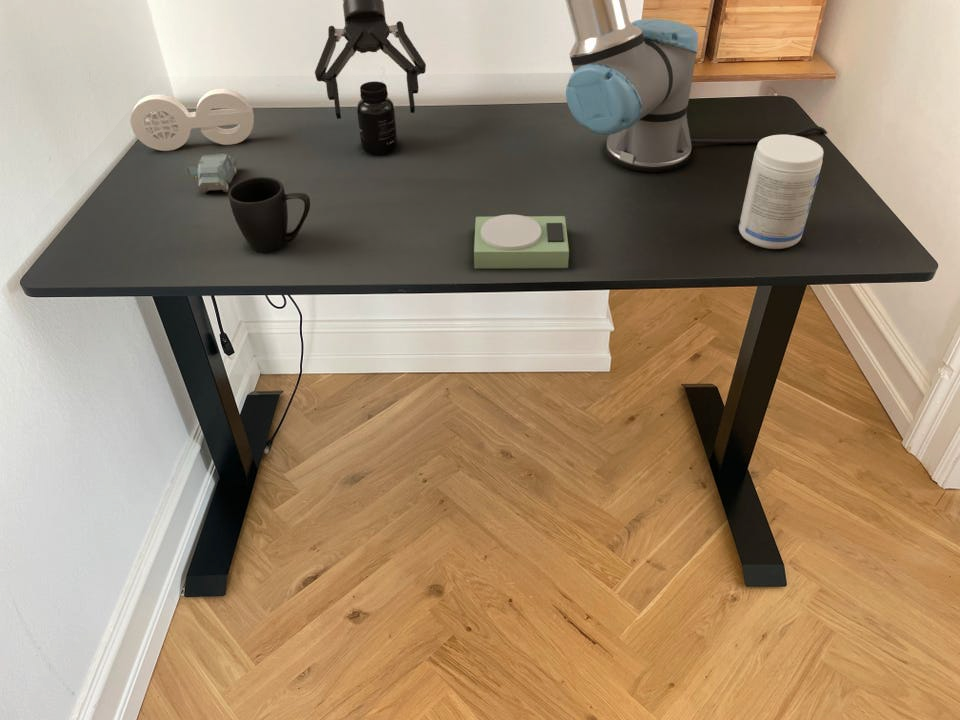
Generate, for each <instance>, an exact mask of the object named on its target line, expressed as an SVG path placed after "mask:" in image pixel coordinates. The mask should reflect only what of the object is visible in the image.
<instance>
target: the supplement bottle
mask: <svg viewBox="0 0 960 720" xmlns="http://www.w3.org/2000/svg"><path fill="white" fill-rule="evenodd" d="M359 91H360V95H359V96H360V99H359V101H358V103H357V105H356V112H357V121H358V129H359V138H360V146H361V148H362V151H363V153H366V154H367V155H370V156H379V157H380V156H386V155H389V154H392V153H393V152H395V151H396V149H397V148H398V134H397V133H398V132H397V123H396V111H395V103H394V102H393V100H392V99H391V98H390V97H389V92H388V87H387V84H386V83H385V82H382V81H377V80H376V81H368V82H364V83H362V84H361V85H360V87H359Z"/></svg>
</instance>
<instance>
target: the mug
mask: <svg viewBox="0 0 960 720" xmlns="http://www.w3.org/2000/svg"><path fill="white" fill-rule="evenodd" d="M227 196H228V200H229V205H230V209H231V212H232V215H233V217H234V220H235V223H236V224H237V227H238V228H239V231H240V232H241V234H242V236H243V237H244V239H245V240H246V242H247V243H248V245H249V247H250V249H251V250H252V251H254V252H256V253H261V254H268V253H269V254H270V253H273V252H276V251H279V250H280V249H282V248H283V247H284V246H285V245H286V243H290V242H292V241H294V240H295V239H296V237H297V236H298V235H299V233H300V230H301V228H302V227H303V225H304V223H305V221H306V219H307V217H308V215H309V213H310V209H311V199H310V196H309V194H307V193H305V192H289V193H286V191H285V187H284V184H283V183H282V181H280V180H279V179H277V178H273V177H269V176H256V177H250V178H246V179H243V180H240V181H239V182H236V183H234V184H233V185H232V186H231V187H229V190H228V192H227ZM294 199H295V200H297V199H298V200H301V201H302V202H303V203H304V208H303V213H302V216H301V218H300V220H299V221H298V224H297V225H296V227H295V228H294V229H293V230H292V231H290V232H288V223H289V213H288V212H289V211H288V202H287V201H288V200H294Z"/></svg>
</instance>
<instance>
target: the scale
mask: <svg viewBox="0 0 960 720" xmlns="http://www.w3.org/2000/svg"><path fill="white" fill-rule="evenodd" d="M474 222H475V225H474V243H473V261H474V263H473V264H474V269H476V270H477V269H568V268H569V258H570V248H569V240H568V229H567V221H566V216H565V215H556V216H555V215H554V216H553V215H542V216H541V215H540V216H538V215H536V216H535V215H533V216H532V215H531V216H529V215H528V216H526V215H523V214H522V215H521V214H510V213H509V214H501V215H496V216H475V221H474Z"/></svg>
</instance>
